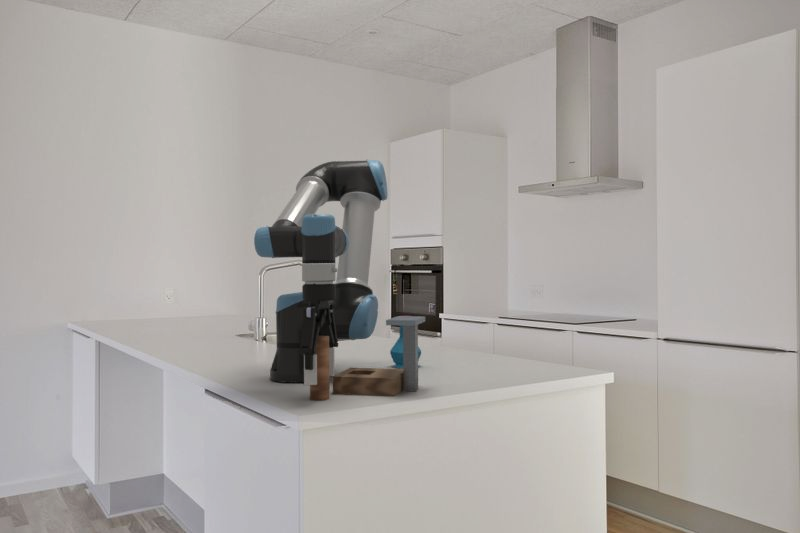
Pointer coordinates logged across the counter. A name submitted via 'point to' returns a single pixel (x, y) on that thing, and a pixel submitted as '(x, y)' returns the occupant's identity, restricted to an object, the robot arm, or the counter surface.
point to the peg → (321, 371)
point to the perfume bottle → (400, 351)
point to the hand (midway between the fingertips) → (319, 379)
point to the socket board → (369, 381)
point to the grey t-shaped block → (409, 349)
